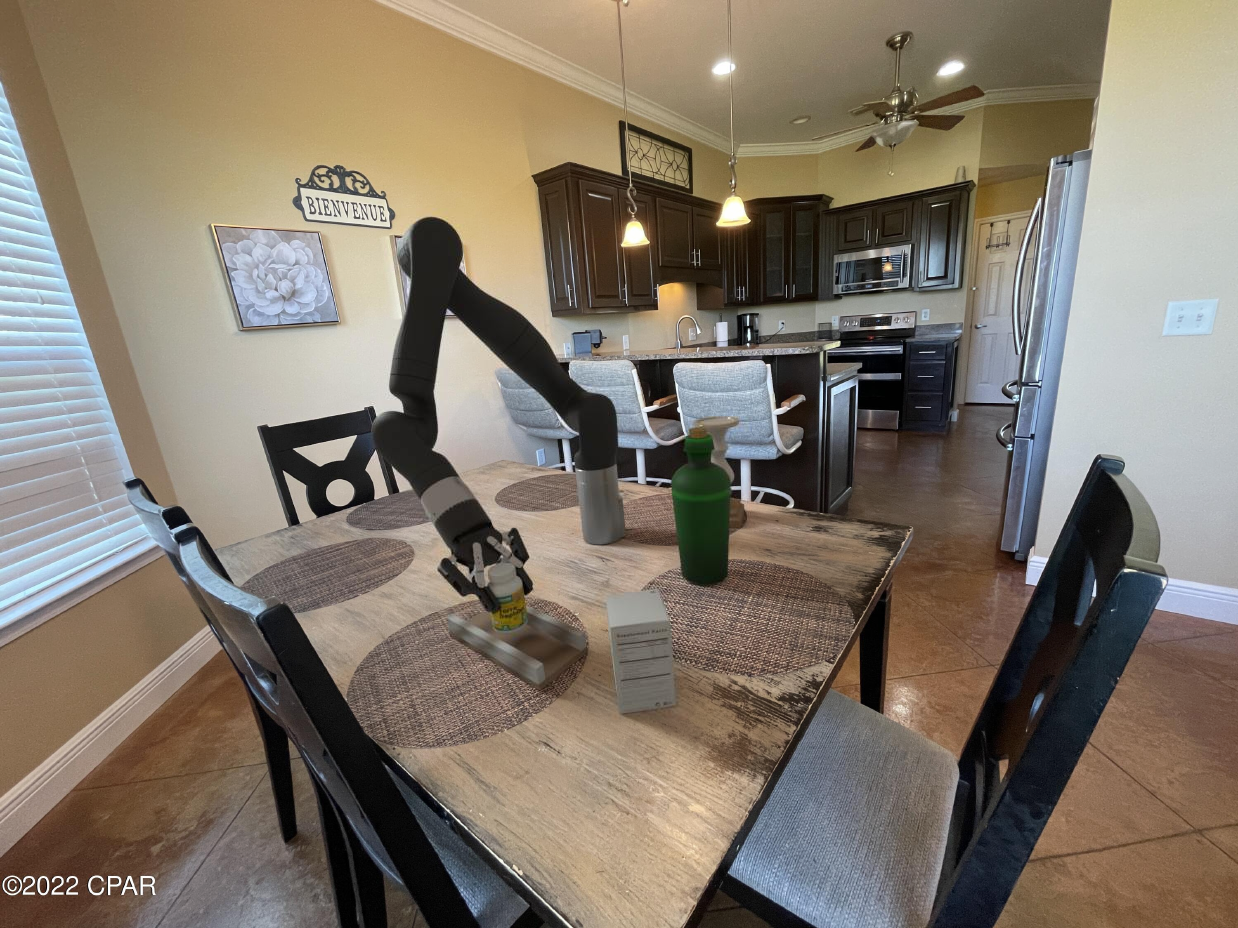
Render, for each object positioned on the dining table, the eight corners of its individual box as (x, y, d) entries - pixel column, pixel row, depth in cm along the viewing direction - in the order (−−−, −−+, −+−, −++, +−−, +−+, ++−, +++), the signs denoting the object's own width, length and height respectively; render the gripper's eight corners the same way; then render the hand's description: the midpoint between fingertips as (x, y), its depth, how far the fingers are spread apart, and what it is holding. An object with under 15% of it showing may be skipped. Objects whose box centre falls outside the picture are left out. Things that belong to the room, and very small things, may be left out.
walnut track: (450, 636, 78) (446, 617, 77) (497, 608, 85) (494, 590, 84) (539, 690, 64) (536, 668, 63) (587, 652, 71) (585, 631, 70)
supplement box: (613, 674, 66) (604, 593, 62) (666, 667, 66) (660, 586, 63) (618, 716, 59) (608, 626, 55) (677, 707, 59) (671, 618, 56)
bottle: (739, 565, 92) (735, 422, 84) (726, 594, 82) (721, 436, 75) (685, 559, 96) (678, 422, 89) (668, 585, 87) (658, 435, 79)
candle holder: (741, 528, 108) (738, 425, 101) (692, 526, 112) (687, 426, 105) (744, 510, 118) (743, 415, 111) (700, 508, 121) (696, 416, 115)
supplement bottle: (520, 610, 77) (512, 556, 74) (534, 625, 72) (525, 569, 70) (488, 623, 74) (478, 567, 71) (500, 640, 70) (490, 581, 67)
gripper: (418, 514, 68) (481, 614, 63) (500, 485, 78) (559, 569, 74) (407, 541, 72) (465, 635, 68) (486, 510, 83) (540, 590, 79)
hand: (513, 600), depth 71 cm, fingers closed on supplement bottle, 5 cm apart
